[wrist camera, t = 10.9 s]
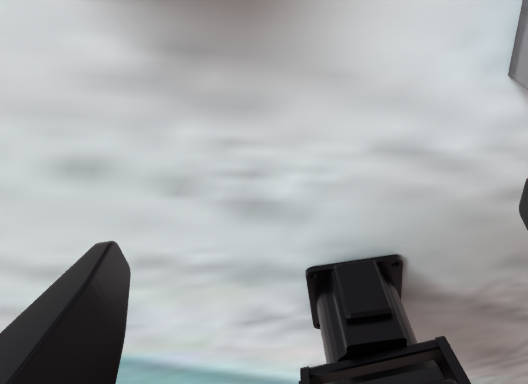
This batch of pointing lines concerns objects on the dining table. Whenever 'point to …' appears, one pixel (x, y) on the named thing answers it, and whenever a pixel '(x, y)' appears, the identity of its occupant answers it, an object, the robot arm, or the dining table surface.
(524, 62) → the tray
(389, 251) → the dining table surface
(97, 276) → the robot arm
